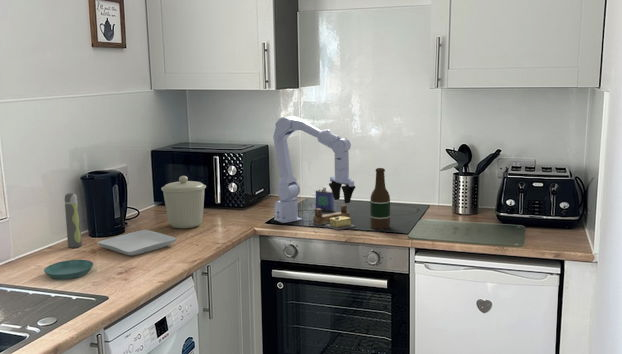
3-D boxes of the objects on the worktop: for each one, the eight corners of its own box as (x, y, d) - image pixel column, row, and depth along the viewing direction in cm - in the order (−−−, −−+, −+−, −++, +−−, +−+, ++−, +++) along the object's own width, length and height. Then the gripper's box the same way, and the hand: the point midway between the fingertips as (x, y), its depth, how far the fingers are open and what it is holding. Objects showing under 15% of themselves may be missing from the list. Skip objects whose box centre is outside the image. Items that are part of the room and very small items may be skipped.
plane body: (317, 225, 250) (317, 210, 249) (312, 223, 253) (312, 208, 252) (350, 219, 258) (350, 205, 257) (345, 217, 261) (344, 203, 260)
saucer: (49, 269, 200) (48, 261, 199) (96, 265, 203) (95, 257, 203) (40, 284, 186) (39, 276, 185) (91, 279, 189) (90, 271, 189)
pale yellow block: (336, 227, 243) (336, 219, 242) (329, 225, 247) (329, 217, 247) (350, 225, 247) (350, 216, 246) (343, 222, 251) (343, 214, 250)
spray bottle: (85, 245, 226) (80, 192, 223) (74, 248, 222) (70, 195, 219) (75, 244, 229) (70, 192, 225) (65, 247, 224) (60, 194, 221)
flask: (335, 210, 275) (334, 187, 273) (332, 212, 273) (331, 188, 271) (317, 208, 280) (316, 186, 278) (314, 210, 277) (313, 187, 275)
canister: (212, 228, 248) (209, 177, 244) (167, 233, 241) (164, 181, 238) (203, 218, 265) (200, 171, 261) (160, 223, 258) (157, 174, 254)
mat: (337, 230, 241) (337, 229, 241) (324, 225, 248) (324, 224, 248) (355, 226, 246) (355, 225, 245) (342, 222, 253) (342, 221, 253)
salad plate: (129, 260, 208) (128, 251, 207) (96, 250, 222) (95, 240, 221) (179, 246, 224) (178, 237, 223) (145, 237, 238) (145, 228, 237)
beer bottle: (389, 225, 247) (389, 166, 243) (390, 229, 240) (390, 170, 236) (370, 224, 248) (370, 166, 244) (370, 229, 241) (370, 170, 237)
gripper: (360, 169, 241) (360, 203, 243) (339, 165, 253) (340, 197, 256) (345, 171, 237) (346, 205, 240) (325, 166, 250) (326, 199, 252)
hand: (342, 201), depth 247 cm, fingers open, 7 cm apart
